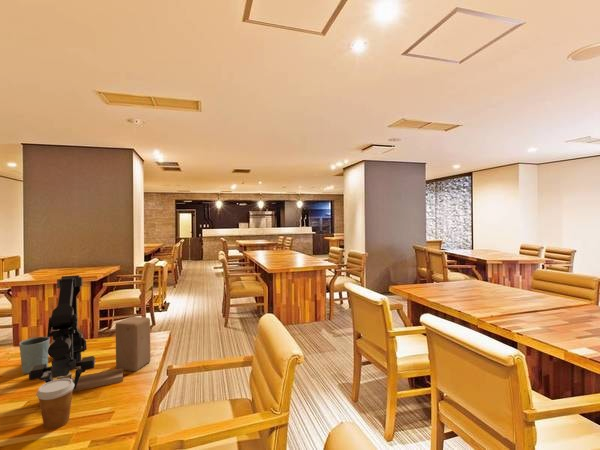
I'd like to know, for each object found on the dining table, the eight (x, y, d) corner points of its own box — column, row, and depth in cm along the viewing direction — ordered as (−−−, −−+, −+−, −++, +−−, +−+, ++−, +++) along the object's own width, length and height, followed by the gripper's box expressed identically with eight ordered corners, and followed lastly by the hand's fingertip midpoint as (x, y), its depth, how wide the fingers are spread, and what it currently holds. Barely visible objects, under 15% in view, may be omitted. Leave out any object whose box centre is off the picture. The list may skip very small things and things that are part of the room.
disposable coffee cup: (69, 410, 110) (68, 374, 109) (79, 421, 103) (78, 384, 103) (33, 424, 102) (32, 386, 102) (42, 437, 96) (41, 396, 96)
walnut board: (54, 386, 125) (54, 381, 125) (123, 372, 136) (123, 368, 136) (50, 396, 118) (49, 390, 118) (122, 381, 129) (122, 376, 129)
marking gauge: (62, 384, 126) (62, 366, 126) (75, 382, 128) (74, 364, 128) (55, 402, 114) (55, 382, 114) (69, 399, 116) (69, 379, 116)
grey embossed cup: (16, 376, 133) (15, 346, 133) (23, 366, 142) (22, 338, 142) (47, 370, 138) (47, 342, 138) (52, 361, 147) (52, 334, 147)
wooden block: (136, 372, 136) (135, 324, 136) (115, 370, 138) (114, 322, 138) (151, 362, 146) (150, 317, 146) (131, 360, 148) (131, 315, 148)
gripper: (23, 361, 106) (24, 409, 107) (92, 350, 115) (92, 395, 115) (32, 349, 116) (33, 393, 116) (94, 340, 125) (95, 381, 125)
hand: (64, 390), depth 118 cm, fingers open, 6 cm apart
